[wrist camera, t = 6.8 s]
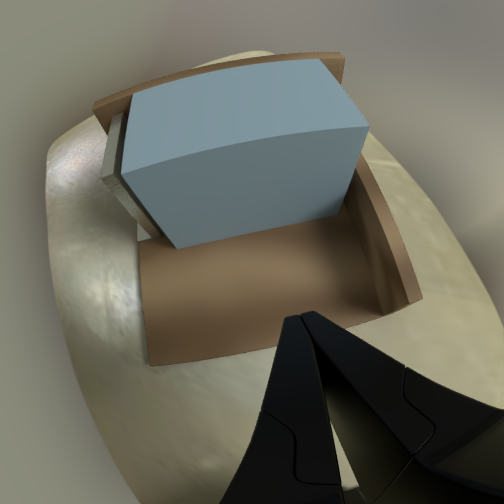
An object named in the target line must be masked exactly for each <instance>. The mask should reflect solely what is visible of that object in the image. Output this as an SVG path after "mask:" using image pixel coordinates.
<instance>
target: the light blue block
mask: <svg viewBox="0 0 504 504" xmlns="http://www.w3.org/2000/svg"><path fill="white" fill-rule="evenodd" d="M369 127H370V126H369V124H368V123H367V121H366V120H365V118H364V117H363V115H362V114H361V112H360V111H359V110H358V108H357V107H356V105H355V104H354V102H353V101H352V100H351V98H350V97H349V96H348V94H347V93H346V92H345V90H344V89H343V88H342V86H341V85H340V84H339V83H338V81H337V80H336V79H335V77H334V76H333V75H332V74H331V72H330V71H329V70H328V69H327V68H326V66H325V65H324V64H323V63H322V62H321V61H320V59H302V60H288V61H277V62H268V63H260V64H252V65H245V66H239V67H233V68H228V69H222V70H217V71H212V72H208V73H203V74H199V75H195V76H190V77H186V78H183V79H179V80H175V81H172V82H168V83H165V84H161V85H158V86H155V87H152V88H149V89H145V90H142V91H140V92H137V93H134V94H133V97H132V102H131V107H130V113H129V118H128V124H127V131H126V137H125V144H124V152H123V160H122V169H121V175H122V177H123V178H124V179H125V181H126V182H127V184H128V185H129V186H130V188H131V189H132V190H133V192H134V193H135V195H136V196H137V197H138V199H139V200H140V201H141V203H142V204H143V205H144V207H145V208H146V209H147V211H148V212H149V213H150V215H151V216H152V217H153V219H154V220H155V221H156V223H157V224H158V225H159V226H160V228H161V229H162V230H163V232H164V233H165V234H166V236H167V237H168V238H169V239H170V241H171V242H172V243H173V244H174V246H175V247H176V248H177V249H180V248H185V247H189V246H193V245H198V244H202V243H207V242H211V241H216V240H220V239H225V238H229V237H234V236H239V235H243V234H248V233H253V232H257V231H262V230H267V229H272V228H276V227H281V226H286V225H291V224H296V223H300V222H305V221H310V220H315V219H320V218H325V217H330V216H335V215H338V212H339V210H340V207H341V205H342V202H343V200H344V197H345V194H346V192H347V189H348V187H349V184H350V181H351V179H352V176H353V173H354V170H355V168H356V165H357V162H358V159H359V156H360V153H361V151H362V148H363V145H364V142H365V139H366V136H367V133H368V130H369Z"/></svg>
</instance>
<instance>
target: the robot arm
mask: <svg viewBox="0 0 504 504" xmlns="http://www.w3.org/2000/svg"><path fill="white" fill-rule="evenodd" d="M330 421H331V423H332V425H333V428H334V430H335V432H336V434H337V437H338V439H339V441H340V443H341V446H342V448H343V450H344V452H345V455H346V457H347V459H348V461H349V464H350V466H351V468H352V471H353V473H354V475H355V477H356V480H357V482H358V484H359V486H360V488H359V489H353V490H350V491H347V492H344V493H343V489H342V486H341V484H342V483H341V477H340V471H339V465H338V459H337V454H336V449H335V443H334V438H333V433H332V428H331V423H330ZM219 504H504V409H499V408H496V407H493V406H490V405H487V404H485V403H482V402H480V401H477V400H475V399H473V398H470V397H468V396H465V395H463V394H460V393H458V392H456V391H453V390H451V389H449V388H447V387H444V386H442V385H440V384H438V383H436V382H434V381H432V380H430V379H428V378H427V377H425V376H423V375H421V374H419V373H417V372H416V371H414V370H412V369H411V368H409V367H406V368H405V365H404V364H402V363H400V362H399V361H397V360H395V359H393V358H392V357H390V356H388V355H387V354H385V353H383V352H382V351H380V350H378V349H377V348H375V347H373V346H372V345H370V344H368V343H367V342H365V341H363V340H362V339H360V338H358V337H357V336H355V335H354V334H352V333H350V332H349V331H347V330H345V329H344V328H342V327H340V326H339V325H337V324H335V323H334V322H332V321H331V320H329V319H327V318H326V317H324V316H322V315H321V314H319V313H318V312H316V311H308V312H304V313H301V314H300V316H299V315H298V314H296V315H291V316H287V317H285V318H284V320H283V325H282V329H281V333H280V337H279V341H278V345H277V349H276V353H275V357H274V361H273V365H272V369H271V373H270V377H269V381H268V384H267V388H266V392H265V395H264V399H263V403H262V406H261V411H260V413H259V416H258V420H257V423H256V426H255V429H254V432H253V435H252V438H251V441H250V444H249V446H248V448H247V450H246V453H245V455H244V457H243V459H242V461H241V464H240V465H239V467H238V469H237V471H236V473H235V475H234V477H233V479H232V481H231V483H230V485H229V487H228V488H227V490H226V492H225V494H224V496H223V498H222V499H221V501H220V503H219Z"/></svg>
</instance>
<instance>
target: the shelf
mask: <svg viewBox="0 0 504 504" xmlns="http://www.w3.org/2000/svg"><path fill="white" fill-rule="evenodd" d="M302 59H320V61H321V62H322V63H323V64H324V65H325V66H326V68H327V69H328V70H329V71H330V72H331V74H332V75H333V76H334V77H335V79H336V80H337V81H338V83H339V84H340V85H341V82H342V76H343V70H344V63H345V58H344V57H343V56H342V55H341V54H340V53H339V52H316V53H293V54H281V55H270V56H261V57H253V58H246V59H240V60H234V61H228V62H222V63H217V64H212V65H208V66H203V67H199V68H194V69H190V70H186V71H183V72H179V73H175V74H171V75H168V76H164V77H161V78H158V79H155V80H151V81H149V82H145V83H143V84H140V85H137V86H134V87H131V88H128V89H126V90H123V91H120V92H118V93H115V94H113V95H110V96H108V97H105V98H103V99H101V100H98V101H96V102H95V103H94V106H93V109H92V111H93V113H94V114H95V116H96V118H97V119H98V121H99V123H100V124H101V126H102V127H103V129H104V131H105V132H106V134H107V135H108V134H109V129H110V125H111V121H112V116H114V115H117V114H120V113H122V112H123V113H124V115H125V117H126V119H127V120H128V118H129V113H130V107H131V102H132V97H133V94H134V93H137V92H140V91H142V90H145V89H149V88H152V87H155V86H158V85H161V84H165V83H168V82H172V81H175V80H179V79H183V78H186V77H190V76H195V75H199V74H203V73H208V72H212V71H217V70H222V69H228V68H233V67H239V66H245V65H252V64H260V63H268V62H277V61H288V60H302ZM162 236H163V237H161V238H157V239H153V240H149V241H145V242H141V243H139V256H140V276H141V291H142V303H143V313H144V323H145V331H146V339H147V347H148V354H149V360H150V366H161V365H170V364H178V363H185V362H193V361H199V360H206V359H212V358H218V357H224V356H230V355H235V354H241V353H246V352H251V351H256V350H261V349H266V348H270V347H275V346H277V345H278V341H279V337H280V333H281V329H282V325H283V320H284V318H285V317H287V316H291V315H296V314H298V315H299V316H300V314H301V313H304V312H308V311H316V312H318V313H319V314H321V315H322V316H324V317H326V318H327V319H329V320H331V321H332V322H334V323H335V324H337V325H339V326H340V327H342V328H344V329H345V328H348V327H352V326H355V325H358V324H362V323H365V322H368V321H371V320H374V319H377V318H380V317H383V316H386V315H389V314H392V313H394V312H396V311H399V310H401V309H403V308H405V307H407V306H409V305H411V304H413V303H415V302H417V301H419V300H421V299H423V297H422V294H421V290H420V287H419V284H418V281H417V278H416V275H415V272H414V269H413V267H412V264H411V261H410V258H409V256H408V253H407V250H406V248H405V245H404V243H403V240H402V238H401V235H400V233H399V230H398V228H397V225H396V223H395V221H394V218H393V216H392V214H391V212H390V209H389V207H388V205H387V203H386V201H385V198H384V196H383V194H382V192H381V190H380V188H379V186H378V184H377V182H376V180H375V178H374V176H373V174H372V172H371V170H370V168H369V166H368V164H367V163H366V161H365V159H364V157H363V155H362V153H360V156H359V159H358V162H357V165H356V168H355V170H354V173H353V176H352V179H351V181H350V184H349V187H348V189H347V192H346V194H345V197H344V200H343V202H342V205H341V207H340V210H339V212H338V215H335V216H330V217H325V218H320V219H315V220H310V221H305V222H300V223H296V224H291V225H286V226H281V227H276V228H272V229H267V230H262V231H257V232H253V233H248V234H243V235H239V236H234V237H229V238H225V239H220V240H216V241H211V242H207V243H202V244H198V245H193V246H189V247H185V248H180V249H177V248H176V247H175V246H174V244H173V243H172V242H171V241H170V239H169V238H168V237H167V236H166V234H165V233H164V232H163V230H162Z"/></svg>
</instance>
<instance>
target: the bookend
mask: <svg viewBox="0 0 504 504" xmlns="http://www.w3.org/2000/svg"><path fill="white" fill-rule="evenodd" d="M127 124H128V120H127V119H126V117H125V115H124V113H123V112H122V113H120V114H117V115H114V116H112V121H111V125H110V129H109V134H108V139H107V144H106V149H105V154H104V160H103V166H102V172H101V179H102V180H103V182H104V183H105V184H106V185H107V186H108V188H109V189H110V190H111V191H112V193H113V194H114V195H115V196H116V197H117V199H118V200H119V201H120V202H121V203H122V205H123V206H124V207H125V208H126V209H127V210H128V212H129V213H130V214H131V215H132V216H133V217H134V219H135V220H136V221H137V242H138V243H141V242H145V241H149V240H153V239H157V238H161V237H163V236H162V229H161V228H160V226H159V225H158V224H157V223H156V221H155V220H154V219H153V217H152V216H151V215H150V213H149V212H148V211H147V209H146V208H145V207H144V205H143V204H142V203H141V201H140V200H139V199H138V197H137V196H136V195H135V193H134V192H133V190H132V189H131V188H130V186H129V185H128V184H127V182H126V181H125V179H124V178H123V177H122V175H121V169H122V160H123V152H124V144H125V137H126V131H127Z"/></svg>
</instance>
